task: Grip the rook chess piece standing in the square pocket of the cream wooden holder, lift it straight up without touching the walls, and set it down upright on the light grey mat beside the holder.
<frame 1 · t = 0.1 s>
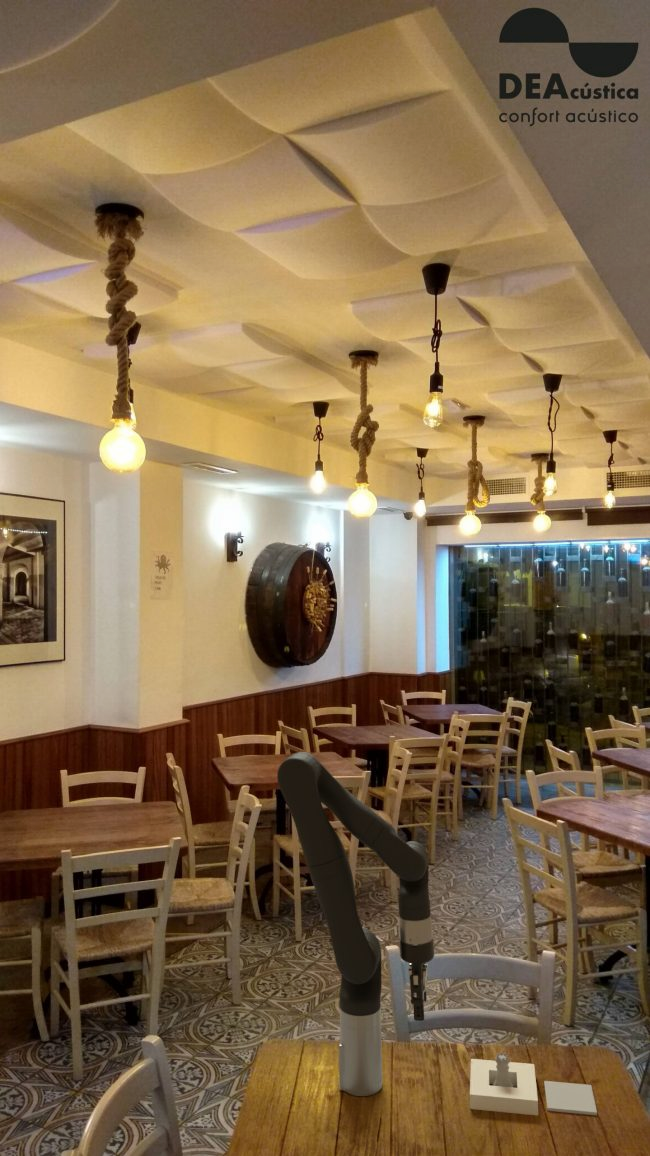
hand: (420, 1010, 181), 17 cm above the table, tool pointing down, fingers open, 8 cm apart
grey mat: (569, 1098, 176), on the table
rook chess piece: (503, 1093, 179), resting in pocket holder
pocket holder: (503, 1092, 179), on the table
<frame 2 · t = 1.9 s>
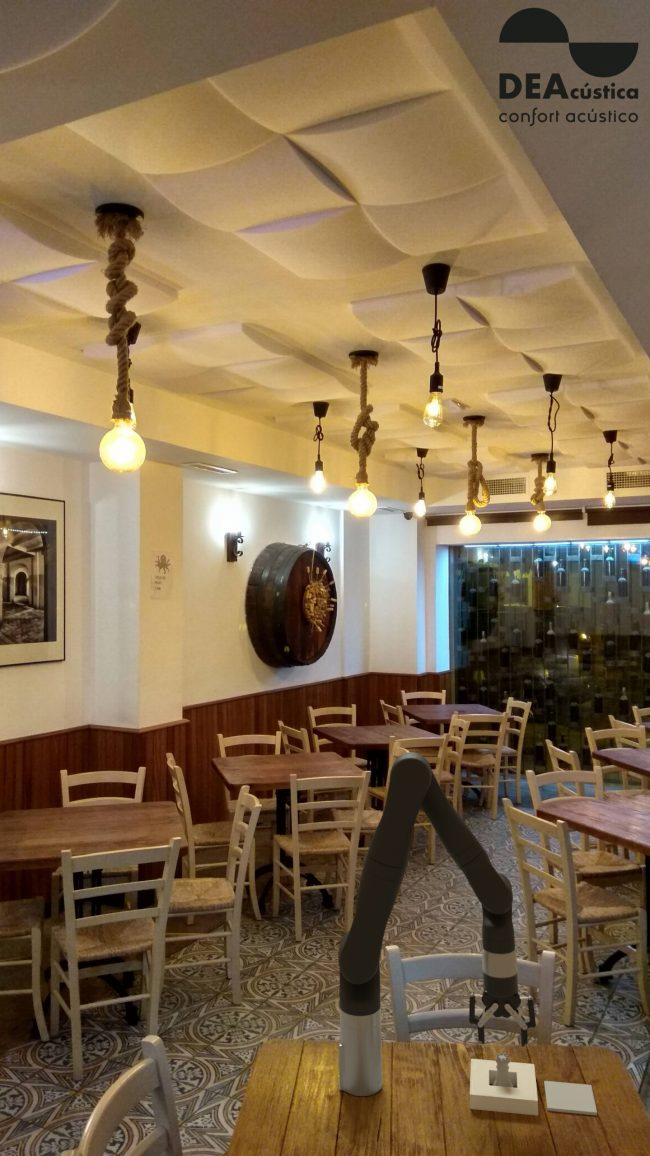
hand: (503, 1043, 179), 10 cm above the table, tool pointing down, fingers open, 8 cm apart
nothing on the table moved.
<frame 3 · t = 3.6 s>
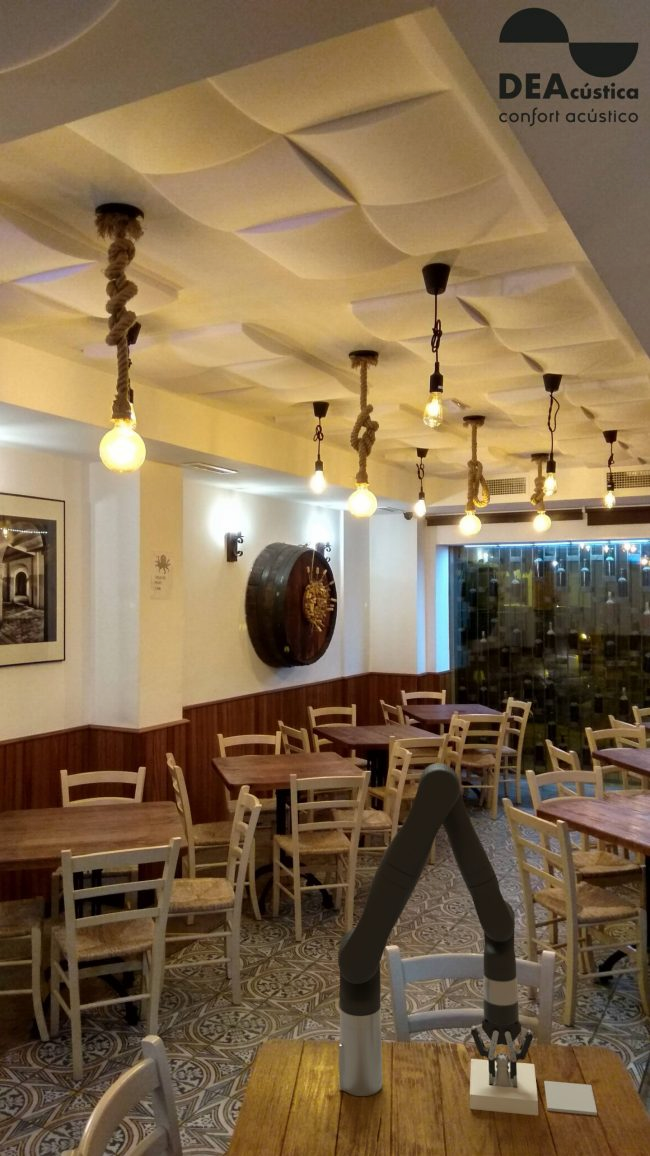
hand: (502, 1075, 179), 4 cm above the table, tool pointing down, fingers closed on rook chess piece, 3 cm apart
rook chess piece: (503, 1093, 179), resting in pocket holder, touching gripper
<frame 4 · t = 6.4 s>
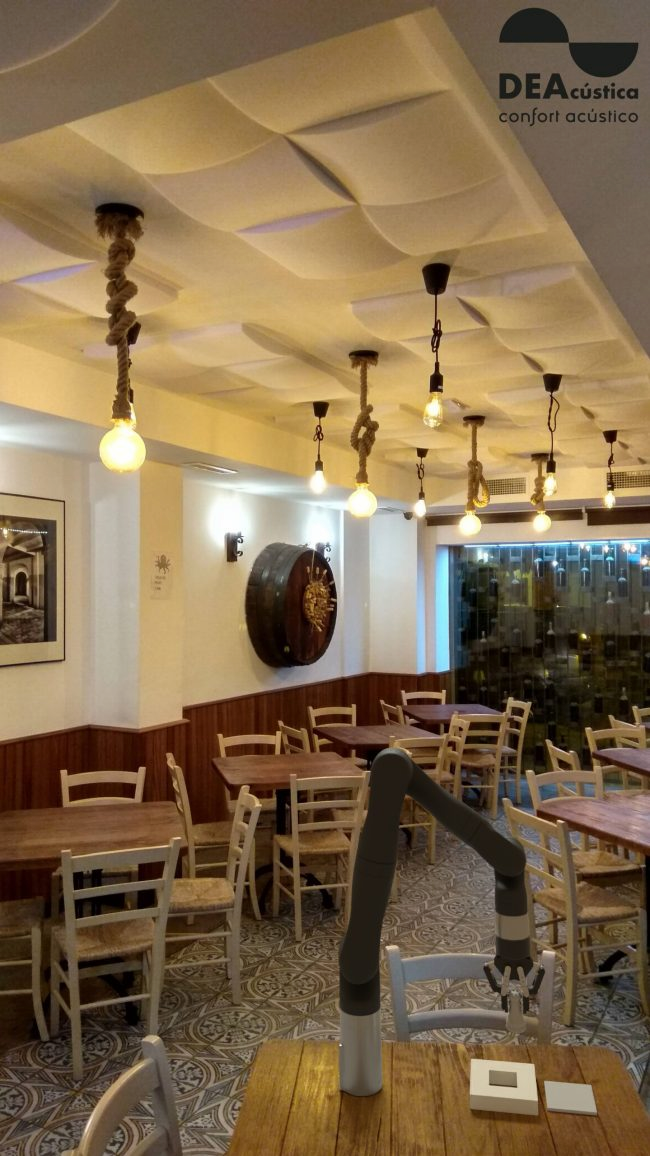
hand: (515, 1011, 179), 18 cm above the table, tool pointing down, fingers closed on rook chess piece, 3 cm apart
rook chess piece: (516, 1029, 179), point 14 cm above the table, touching gripper
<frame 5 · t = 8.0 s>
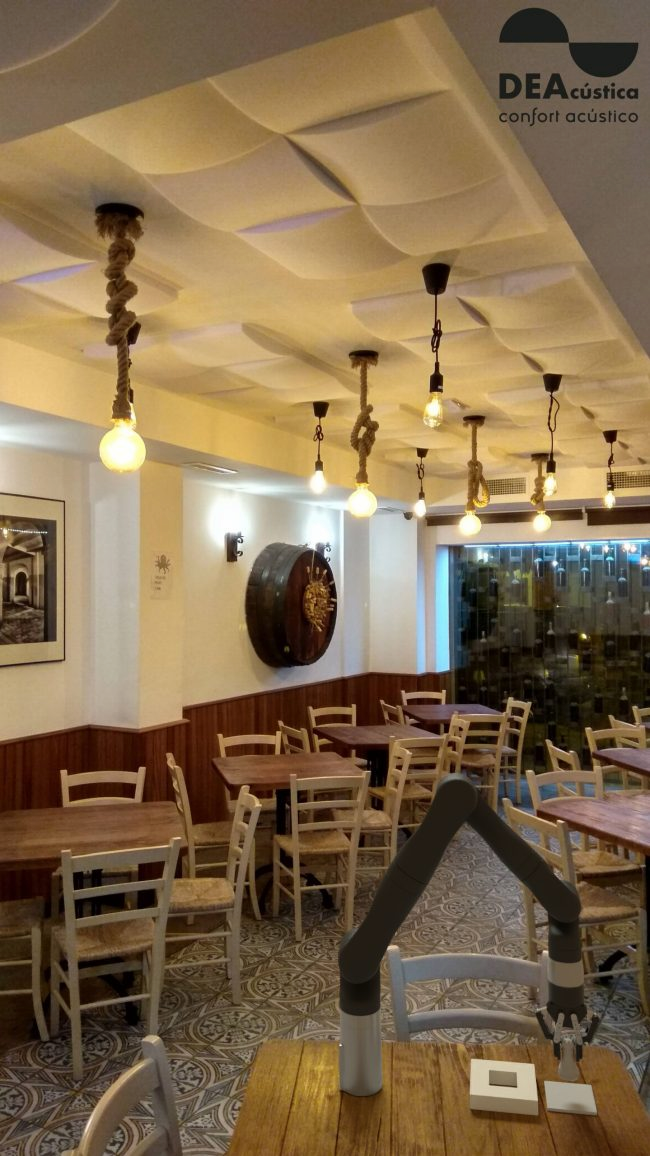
hand: (568, 1058, 176), 8 cm above the table, tool pointing down, fingers closed on rook chess piece, 3 cm apart
rook chess piece: (568, 1077, 176), point 5 cm above the table, touching gripper
when the fingers open (6 cm above the table, at t = 9.2 s): rook chess piece drops 1 cm, resting on grey mat.
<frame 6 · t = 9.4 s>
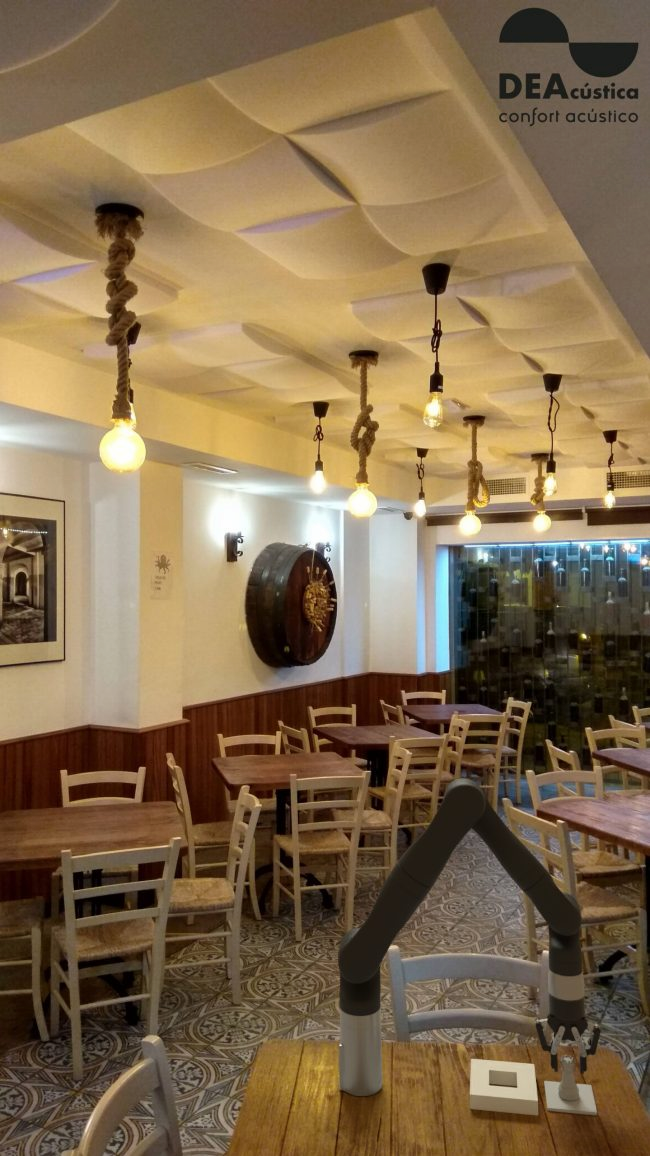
hand: (568, 1070, 176), 6 cm above the table, tool pointing down, fingers open, 4 cm apart
rook chess piece: (568, 1096, 176), resting on grey mat
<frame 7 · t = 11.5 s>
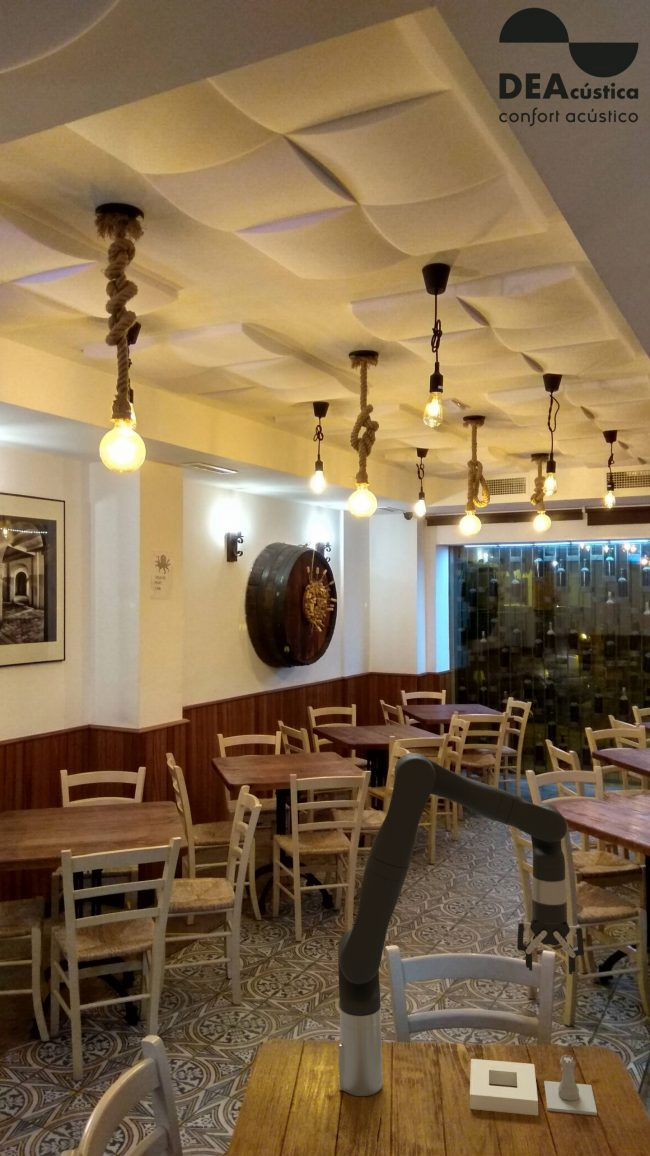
hand: (550, 971, 182), 25 cm above the table, tool pointing down, fingers open, 8 cm apart
nothing on the table moved.
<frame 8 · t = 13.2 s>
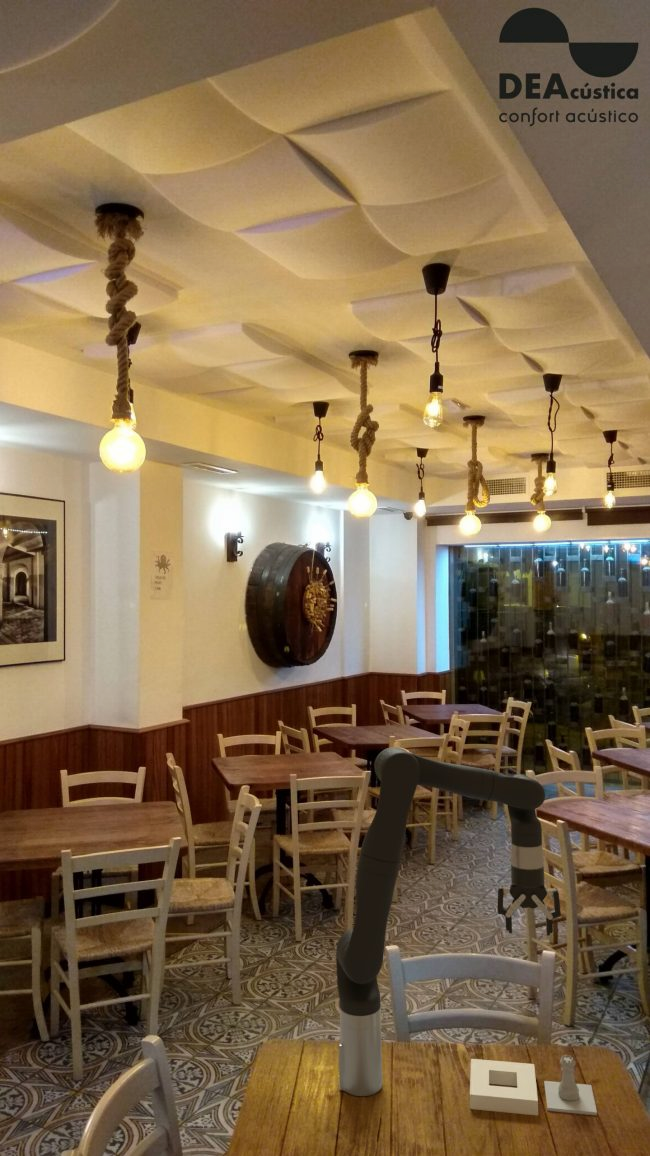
hand: (529, 933, 190), 30 cm above the table, tool pointing down, fingers open, 8 cm apart
nothing on the table moved.
at the end: rook chess piece 0.2 cm off-centre on the grey mat, point 0.4 cm above the grey mat's base; rook chess piece tilted 0°; the gripper is holding nothing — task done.
